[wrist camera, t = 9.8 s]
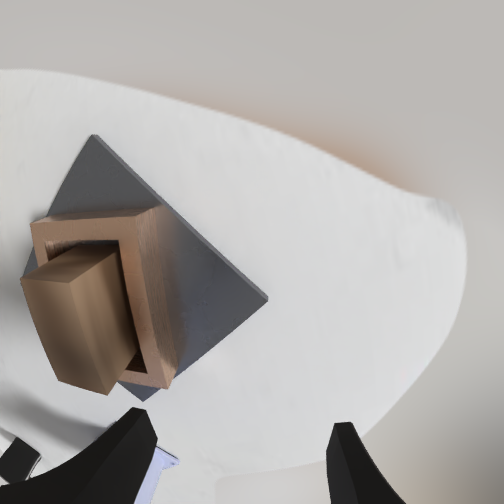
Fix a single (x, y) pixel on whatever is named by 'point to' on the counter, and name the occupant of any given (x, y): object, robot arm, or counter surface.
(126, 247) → the duct collar
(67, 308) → the block
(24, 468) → the battery charger
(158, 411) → the counter surface
